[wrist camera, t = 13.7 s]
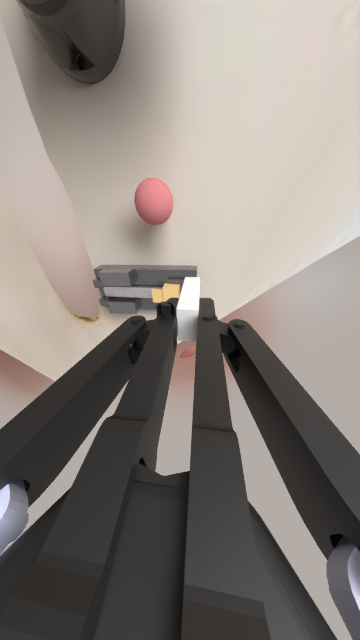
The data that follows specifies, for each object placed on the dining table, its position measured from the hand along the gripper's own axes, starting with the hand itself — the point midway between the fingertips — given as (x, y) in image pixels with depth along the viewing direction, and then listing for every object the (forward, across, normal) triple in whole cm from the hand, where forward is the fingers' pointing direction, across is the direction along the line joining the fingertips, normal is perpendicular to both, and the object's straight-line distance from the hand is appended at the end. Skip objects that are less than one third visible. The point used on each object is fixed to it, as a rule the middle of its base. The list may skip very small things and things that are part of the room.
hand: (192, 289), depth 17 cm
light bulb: (+30, -8, +8) cm, 32 cm away
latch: (+25, -8, -11) cm, 29 cm away
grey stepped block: (+29, -14, -11) cm, 35 cm away
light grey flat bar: (+25, -17, -11) cm, 32 cm away
